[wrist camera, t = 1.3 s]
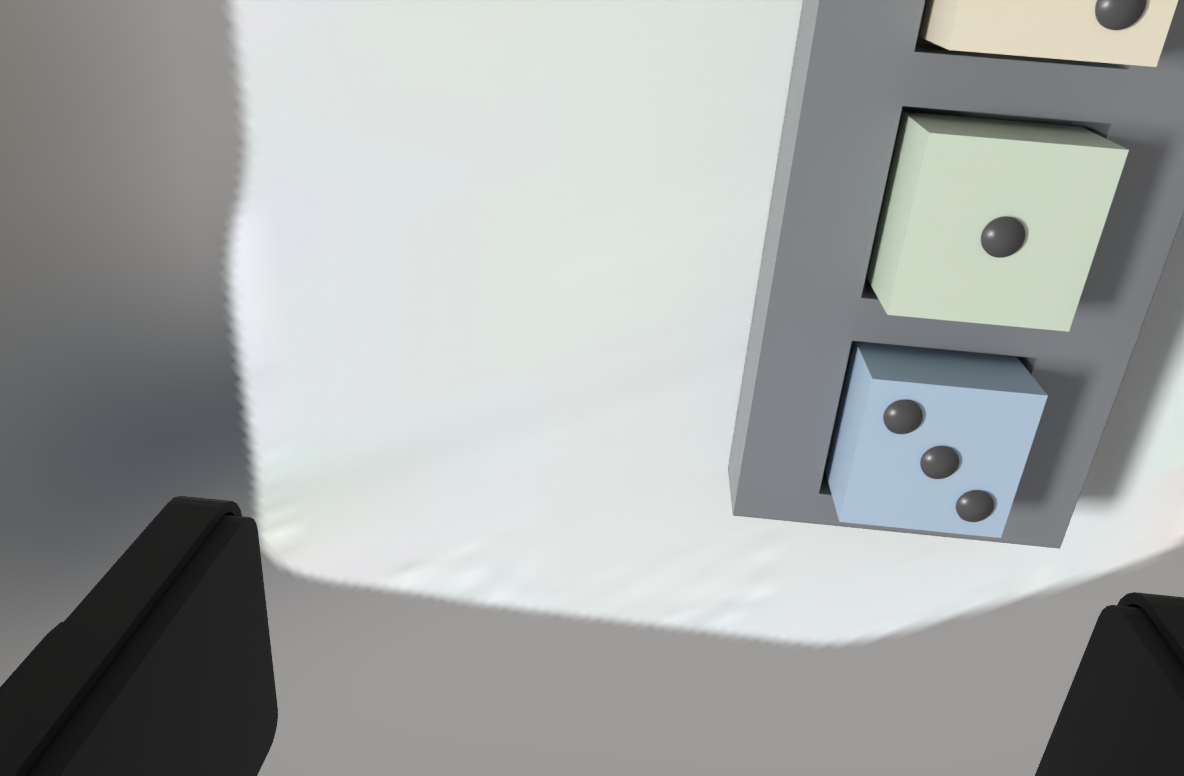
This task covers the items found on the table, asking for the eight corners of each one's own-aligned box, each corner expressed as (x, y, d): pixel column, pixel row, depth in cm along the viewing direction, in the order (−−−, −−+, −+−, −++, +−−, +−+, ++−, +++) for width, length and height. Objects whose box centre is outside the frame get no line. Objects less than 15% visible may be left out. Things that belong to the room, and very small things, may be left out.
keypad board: (842, -244, 24) (863, -265, 22) (1270, -214, 24) (1346, -231, 21) (727, 469, 34) (732, 515, 32) (1029, 498, 34) (1060, 548, 31)
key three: (854, 337, 29) (873, 380, 27) (1012, 352, 29) (1049, 397, 26) (825, 471, 32) (839, 524, 29) (972, 485, 31) (1002, 540, 29)
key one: (903, 111, 26) (930, 133, 23) (1081, 126, 26) (1131, 150, 23) (867, 278, 28) (888, 316, 26) (1031, 293, 28) (1070, 333, 25)
